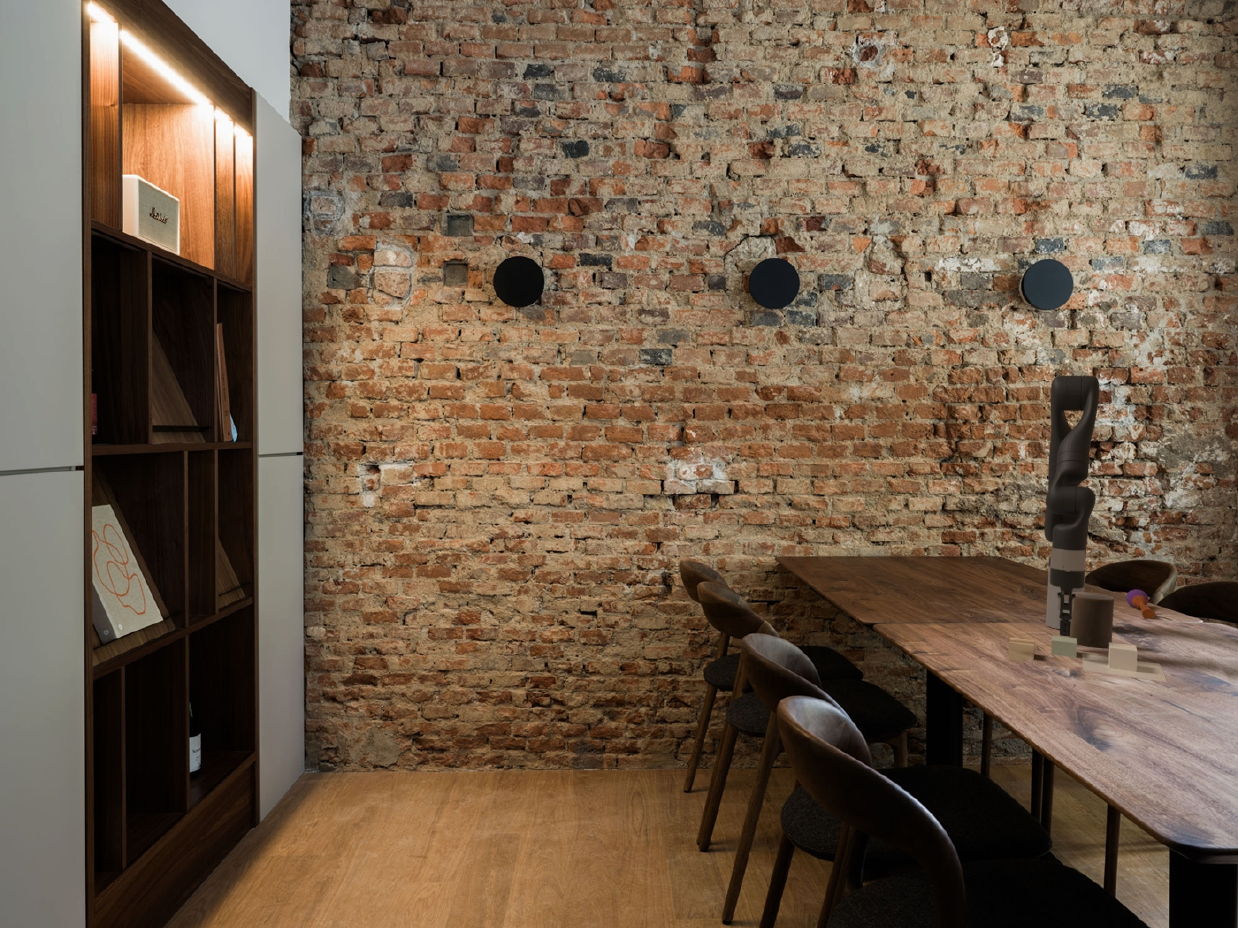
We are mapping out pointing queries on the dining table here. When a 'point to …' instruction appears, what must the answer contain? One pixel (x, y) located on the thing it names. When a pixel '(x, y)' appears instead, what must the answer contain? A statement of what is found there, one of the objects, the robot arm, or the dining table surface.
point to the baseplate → (1143, 670)
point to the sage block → (1064, 646)
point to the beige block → (1122, 657)
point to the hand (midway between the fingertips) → (1064, 632)
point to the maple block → (1021, 650)
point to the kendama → (1140, 603)
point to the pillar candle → (1092, 619)
